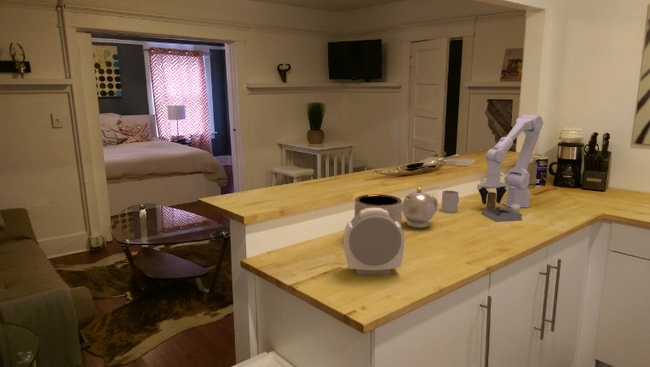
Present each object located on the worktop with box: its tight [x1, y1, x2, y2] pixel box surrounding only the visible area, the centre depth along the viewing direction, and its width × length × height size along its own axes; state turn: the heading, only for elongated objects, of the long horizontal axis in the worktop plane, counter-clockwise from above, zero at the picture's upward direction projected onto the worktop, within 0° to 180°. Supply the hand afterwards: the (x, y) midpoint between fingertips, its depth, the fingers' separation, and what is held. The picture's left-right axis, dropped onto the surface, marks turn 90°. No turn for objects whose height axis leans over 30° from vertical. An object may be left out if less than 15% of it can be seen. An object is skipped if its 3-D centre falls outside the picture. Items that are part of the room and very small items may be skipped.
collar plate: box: [481, 206, 523, 222], centre depth 196 cm, size 12×12×2 cm
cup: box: [441, 190, 460, 214], centre depth 206 cm, size 7×10×9 cm
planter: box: [353, 193, 403, 228], centre depth 165 cm, size 18×18×16 cm
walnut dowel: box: [486, 191, 497, 208], centre depth 207 cm, size 4×4×8 cm
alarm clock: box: [343, 208, 406, 276], centre depth 136 cm, size 18×8×20 cm, turn 92°
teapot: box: [402, 186, 439, 229], centre depth 183 cm, size 18×14×16 cm
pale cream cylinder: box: [510, 204, 521, 214], centre depth 201 cm, size 4×4×4 cm
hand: (491, 203), depth 208 cm, fingers open, 7 cm apart
